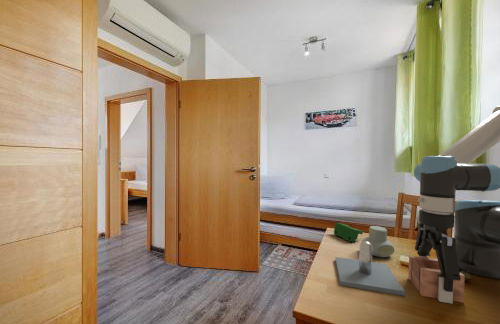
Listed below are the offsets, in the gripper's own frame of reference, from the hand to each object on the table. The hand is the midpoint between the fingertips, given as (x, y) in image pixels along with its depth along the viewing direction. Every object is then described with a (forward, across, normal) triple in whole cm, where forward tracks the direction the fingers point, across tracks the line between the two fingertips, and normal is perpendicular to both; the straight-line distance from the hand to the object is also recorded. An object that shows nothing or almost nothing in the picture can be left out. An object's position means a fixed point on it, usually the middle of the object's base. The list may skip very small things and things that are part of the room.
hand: (433, 288), depth 62 cm
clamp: (+1, -36, -17) cm, 40 cm away
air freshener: (0, -21, -9) cm, 23 cm away
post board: (0, -2, -17) cm, 17 cm away
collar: (0, 0, 0) cm, 0 cm away
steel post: (-1, -2, -17) cm, 17 cm away
